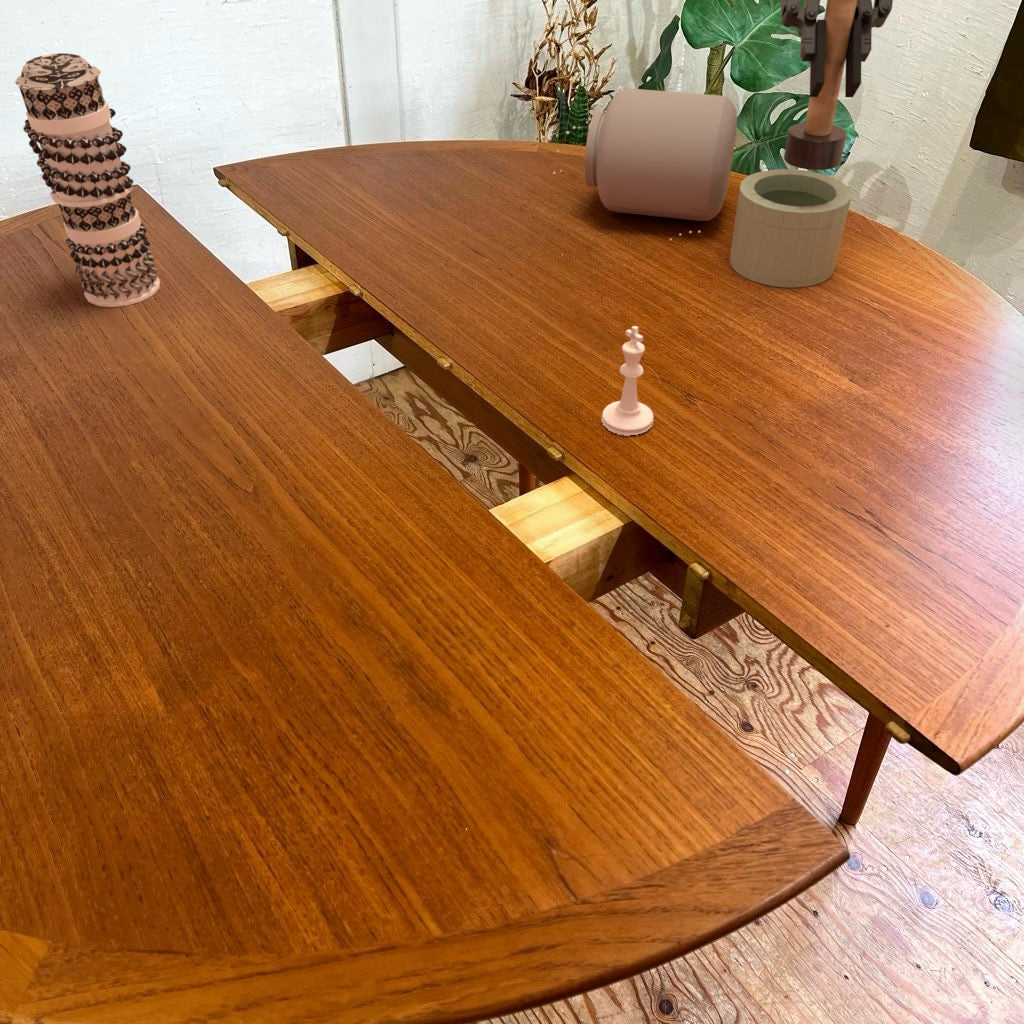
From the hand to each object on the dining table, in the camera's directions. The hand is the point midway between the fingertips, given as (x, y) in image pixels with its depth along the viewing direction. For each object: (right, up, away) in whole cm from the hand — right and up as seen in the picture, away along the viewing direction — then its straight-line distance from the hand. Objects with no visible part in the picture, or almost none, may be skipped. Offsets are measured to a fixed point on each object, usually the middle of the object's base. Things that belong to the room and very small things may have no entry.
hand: (835, 89), depth 95 cm
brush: (0, -4, +9) cm, 9 cm away
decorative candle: (-77, -16, +16) cm, 81 cm away
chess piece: (-21, -34, -5) cm, 40 cm away
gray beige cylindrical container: (0, -12, +19) cm, 23 cm away
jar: (-17, -3, +30) cm, 35 cm away
